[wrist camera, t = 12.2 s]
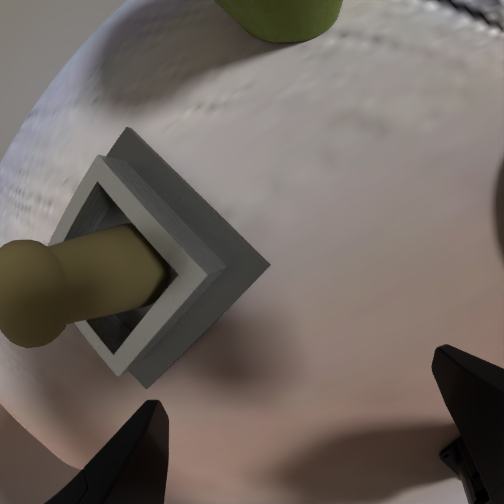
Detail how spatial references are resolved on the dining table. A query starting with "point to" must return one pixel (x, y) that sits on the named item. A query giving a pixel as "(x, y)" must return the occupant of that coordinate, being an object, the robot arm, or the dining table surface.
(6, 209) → the dining table surface
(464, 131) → the dining table surface
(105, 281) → the olive knobbed peg
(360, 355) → the dining table surface
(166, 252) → the steel collar socket
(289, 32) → the plant pot
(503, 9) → the dining table surface
